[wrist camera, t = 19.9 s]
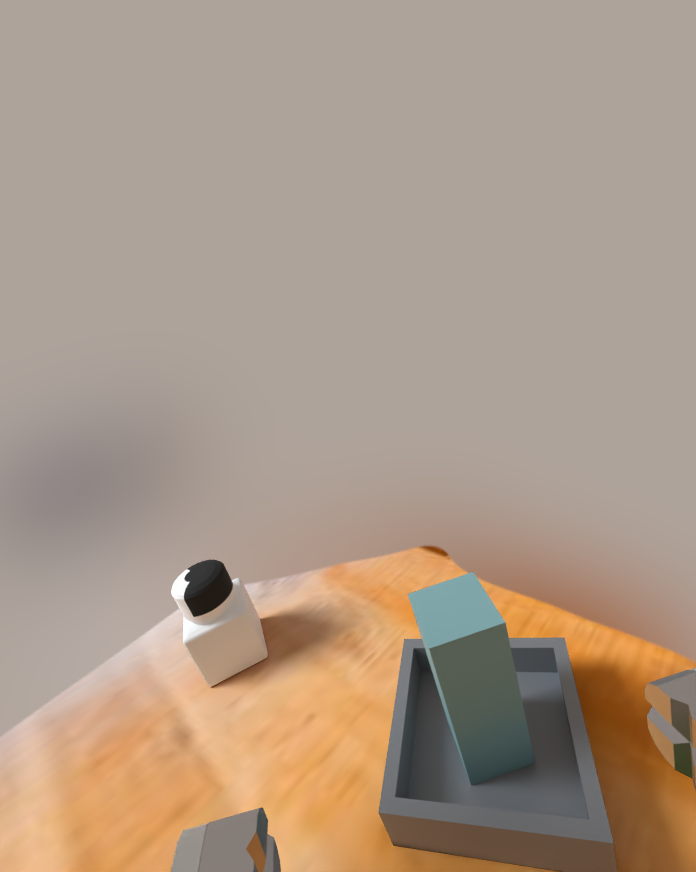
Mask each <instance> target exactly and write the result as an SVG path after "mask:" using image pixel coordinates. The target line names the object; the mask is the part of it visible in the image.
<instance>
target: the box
mask: <svg viewBox="0 0 696 872" xmlns="http://www.w3.org/2000/svg"><path fill="white" fill-rule="evenodd" d="M509 642H510V647H511V651H512V656H513V661H514V665H515V670H516V675H517V679H518V684H519V689H520V693H521V698H522V703H523V707H524V712H525V717H526V722H527V726H528V731H529V736H530V740H531V745H532V750H533V754H534V759H535V763H534V764H531V765H529V766H526V767H523V768H520V769H517V770H514V771H511V772H509V773H506V774H503V775H500V776H497V777H494V778H491V779H489V780H486V781H483V782H480V783H477V784H474V785H471V784H470V781H469V778H468V776H467V773H466V770H465V767H464V765H463V762H462V759H461V756H460V754H459V751H458V748H457V745H456V743H455V740H454V737H453V735H452V732H451V729H450V726H449V724H448V721H447V718H446V714H445V711H444V708H443V705H442V702H441V698H440V695H439V692H438V689H437V686H436V682H435V679H434V676H433V673H432V670H431V666H430V663H429V660H428V657H427V654H426V650H425V647H424V644H423V641H422V639H404V645H403V651H402V658H401V665H400V672H399V678H398V685H397V692H396V699H395V705H394V712H393V719H392V726H391V732H390V739H389V746H388V753H387V759H386V766H385V773H384V780H383V786H382V793H381V800H380V807H379V815H380V817H381V819H382V821H383V823H384V826H385V828H386V830H387V832H388V834H389V837H390V839H391V841H392V843H393V845H394V846H401V847H407V848H413V849H420V850H426V851H433V852H439V853H445V854H452V855H458V856H465V857H471V858H478V859H484V860H490V861H497V862H503V863H510V864H516V865H523V866H529V867H535V868H542V869H548V870H555V871H561V872H617V865H616V857H615V849H614V842H613V838H612V834H611V830H610V826H609V821H608V817H607V813H606V809H605V805H604V801H603V796H602V792H601V788H600V784H599V780H598V776H597V771H596V767H595V763H594V759H593V755H592V751H591V746H590V742H589V738H588V734H587V730H586V726H585V721H584V717H583V713H582V709H581V705H580V701H579V697H578V692H577V688H576V684H575V680H574V676H573V672H572V667H571V663H570V659H569V655H568V651H567V647H566V642H565V638H509Z"/></svg>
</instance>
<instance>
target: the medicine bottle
mask: <svg viewBox="0 0 696 872" xmlns="http://www.w3.org/2000/svg"><path fill="white" fill-rule="evenodd" d="M171 593H172V596H173V598H174V599H175V601H176V603H177V605H178V606H179V608H180V610H181V612H182V614H183V615H184V618H183V644H184V646H185V648H186V649H187V651H188V653H189V654H190V656H191V658H192V660H193V661H194V663H195V665H196V666H197V668H198V670H199V672H200V673H201V675H202V677H203V678H204V680H205V682H206V683H207V685H208V686H209V687H212V686H214V685H216V684H218V683H220V682H221V681H223V680H225V679H227V678H229V677H231V676H233V675H235V674H237V673H239V672H241V671H242V670H244V669H246V668H248V667H250V666H252V665H254V664H256V663H258V662H260V661H262V660H263V659H265V658H267V656H268V652H267V648H266V644H265V639H264V635H263V630H262V626H261V622H260V618H259V616H258V614H257V612H256V609H255V607H254V605H253V603H252V601H251V599H250V597H249V595H248V593H247V591H246V589H245V587H244V585H243V583H242V581H241V579H240V578H236V579H234V580H231V578H230V576H229V574H228V572H227V570H226V568H225V566H224V564H223V563H222V562H220V561H217V560H206V561H202V562H200V563H197V564H195V565H193V566H191V567H190V568H188V569H187V570H185V571H184V572H183V573H182V574H181V575H180V576H179V577H178V578H177V579H176V580H175V582H174V584H173V587H172V591H171Z"/></svg>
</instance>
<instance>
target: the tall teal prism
mask: <svg viewBox="0 0 696 872" xmlns="http://www.w3.org/2000/svg"><path fill="white" fill-rule="evenodd" d="M408 596H409V599H410V602H411V606H412V609H413V612H414V615H415V618H416V622H417V625H418V628H419V631H420V634H421V638H422V641H423V644H424V647H425V650H426V654H427V657H428V660H429V663H430V666H431V670H432V673H433V676H434V679H435V682H436V686H437V689H438V692H439V695H440V698H441V702H442V705H443V708H444V711H445V714H446V718H447V721H448V724H449V726H450V729H451V732H452V735H453V737H454V740H455V743H456V745H457V748H458V751H459V754H460V756H461V759H462V762H463V765H464V767H465V770H466V773H467V776H468V778H469V781H470V784H471V785H474V784H477V783H480V782H483V781H486V780H489V779H491V778H494V777H497V776H500V775H503V774H506V773H509V772H511V771H514V770H517V769H520V768H523V767H526V766H529V765H531V764H534V763H535V759H534V754H533V750H532V745H531V740H530V736H529V731H528V726H527V722H526V717H525V712H524V707H523V703H522V698H521V693H520V689H519V684H518V679H517V675H516V670H515V665H514V661H513V656H512V651H511V647H510V642H509V637H508V633H507V628H506V623H505V621H504V620H503V618H502V617H501V615H500V613H499V612H498V610H497V609H496V607H495V606H494V604H493V602H492V601H491V599H490V598H489V596H488V595H487V593H486V592H485V590H484V588H483V587H482V585H481V584H480V582H479V581H478V579H477V577H476V576H475V574H474V573H473V572H471V573H468V574H466V575H463V576H460V577H457V578H454V579H451V580H448V581H445V582H442V583H439V584H436V585H433V586H430V587H427V588H424V589H421V590H418V591H416V592H413V593H410V594H408Z"/></svg>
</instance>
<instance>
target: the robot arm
mask: <svg viewBox="0 0 696 872" xmlns="http://www.w3.org/2000/svg"><path fill="white" fill-rule="evenodd" d="M645 699H646V700H647V701H648V702H649V703H650V704H651V705H652V708H651V709H650V711H649V713H648V715H647V722H648V730H649V732H650V734H651V737H652V739H653V741H654V743H655V745H656V747H657V748H658V750H659V751H660V752H661V754H662V755H663V757H664V758H665V759H666V760H667V761H668V762H669V764H670V765H671V766H672V767H673V768H674V769H675V770H677V771H679V772H681V773H683V774H685V775H687V776H689V777H691V778H693V782H694V786H695V790H696V668H694V669H691V670H686V671H683V672H680V673H677V674H674V675H671V676H668V677H665V678H662V679H659V680H656V681H653V682H650V683H647V685H646V687H645ZM267 827H268V820H267V817H266V814H265V812H264V809H263V808H258V809H255V810H251V811H248V812H244V813H241V814H237V815H234V816H230V817H227V818H223V819H220V820H216V821H213V822H209V823H206V824H203V825H200V826H196V827H193V828H190V829H186V830H183V832H182V834H181V836H180V838H179V840H178V843H177V847H176V851H175V856H174V860H173V864H172V869H171V872H281V868H280V859H279V855H278V850H277V846H276V843H275V840H274V838H273V837H272V836H270V835H268V834H267Z"/></svg>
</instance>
